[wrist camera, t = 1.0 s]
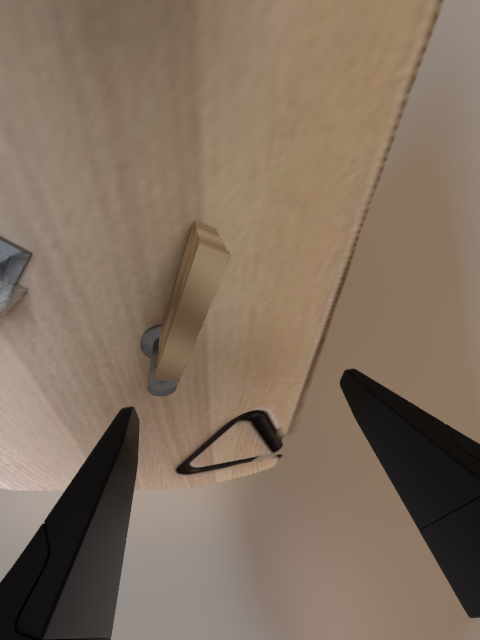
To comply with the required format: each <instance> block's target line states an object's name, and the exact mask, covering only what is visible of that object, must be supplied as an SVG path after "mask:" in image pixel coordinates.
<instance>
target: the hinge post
mask: <svg viewBox="0 0 480 640" xmlns="http://www.w3.org/2000/svg"><path fill="white" fill-rule="evenodd" d="M161 328H162V325H157V326H154V327H152V328H150V329H148V330H147V331H146V332H145V333H144V334H143V336H142V338H141V349H142V351H143V353H144V354H145V355H146V356H148V357H149V358H151V364H150V372H149V380H148V391H149V392H150V393H151V394H152V395H155V396H166V395H169V394H171V393H173V392H174V391H175V390H176V386H177V382H172V381H162V380H154V375H155V371H156V368H157V359H158V348H159V338H160V331H161Z"/></svg>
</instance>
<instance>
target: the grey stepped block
mask: <svg viewBox="0 0 480 640" xmlns="http://www.w3.org/2000/svg"><path fill="white" fill-rule="evenodd" d="M31 254H32V253H31V252H29V251H27V250H25V249H23V248H21V247H19V246H18V245H16V244H14V243H12V242H10V241H8V240H6V239H4V238H2V237H0V318H1V317H2V316H3V315H4V314H5V313H6V312H7V311H8V310H9V309H10V308H11V307H12V306H14V305H15V304H16V303H17V302H18V301H19V300H20V299H21V298H22V297H23V296H24V294H25V293H26V291H27V288H25V287H23V286H21V285H18V284H16V283H17V281H18V279H19V277H20V275H21V273H22V271H23V269H24V268H25V266H26V264H27V262H28V260H29V258H30V256H31Z"/></svg>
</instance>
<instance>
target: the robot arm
mask: <svg viewBox="0 0 480 640" xmlns="http://www.w3.org/2000/svg"><path fill="white" fill-rule="evenodd" d="M340 386H341V389H342V391H343V393H344V395H345V397H346V400H347V402H348V404H349V406H350V408H351V411H352V413H353V415H354V417H355V419H356V421H357V422H358V424H359V426H360V428H361V429H362V431H363V433H364V435H365V437H366V438H367V440H368V442H369V443H370V445H371V447H372V449H373V451H374V452H375V454H376V456H377V457H378V459H379V461H380V463H381V464H382V466H383V468H384V469H385V471H386V473H387V475H388V477H389V478H390V480H391V482H392V484H393V485H394V487H395V489H396V491H397V493H398V494H399V496H400V498H401V500H402V501H403V503H404V505H405V506H406V508H407V510H408V512H409V513H410V515H411V517H412V519H413V520H414V522H415V524H416V526H417V527H418V529H419V531H420V533H421V535H422V536H423V538H424V540H425V542H426V543H427V545H428V547H429V549H430V550H431V552H432V554H433V556H434V557H435V559H436V561H437V563H438V564H439V566H440V568H441V570H442V571H443V573H444V575H445V577H446V578H447V580H448V582H449V584H450V585H451V587H452V589H453V591H454V592H455V594H456V596H457V598H458V599H459V601H460V603H461V605H462V606H463V608H464V610H465V611H466V613H467V614H468V616H469V617H470V618H479V617H480V444H479V443H477V442H475V441H473V440H472V439H470V438H468V437H467V436H465V435H463V434H462V433H460V432H458V431H457V430H455V429H453V428H452V427H450V426H448V425H447V424H444V423H443V422H442V421H440V420H438V419H437V418H435V417H433V416H432V415H430V414H428V413H427V412H425V411H423V410H422V409H420V408H419V407H417V406H415V405H414V404H412V403H410V402H409V401H407V400H405V399H404V398H402V397H400V396H399V395H397V394H396V393H394V392H392V391H391V390H389V389H387V388H386V387H384V386H382V385H381V384H379V383H377V382H376V381H374V380H373V379H371V378H369V377H368V376H366V375H364V374H363V373H361V372H359V371H358V370H356V369H347V370H345V371H344V373H343V376H342V378H341V380H340ZM138 444H139V418H138V415H137V413H136V411H135V408H134V407H132V406H131V407H126V408H122V409H121V410H120V411H119V413H118V414H117V415H116V417H115V418H114V420H113V421H112V423H111V424H110V426H109V427H108V429H107V430H106V432H105V433H104V434H103V436H102V437H101V439H100V440H99V442H98V443H97V445H96V446H95V448H94V449H93V451H92V452H91V453H90V455H89V456H88V458H87V459H86V461H85V462H84V464H83V465H82V467H81V468H80V470H79V471H78V473H77V474H76V475H75V477H74V478H73V480H72V481H71V483H70V484H69V486H68V487H67V489H66V490H65V492H64V493H63V495H62V496H61V497H60V499H59V500H58V502H57V503H56V505H55V506H54V508H53V509H52V511H51V512H50V513H49V515H48V516H47V518H46V520H45V524H42V525H41V526H40V528H39V529H38V531H37V532H36V534H35V535H34V537H33V538H32V540H31V541H30V542H29V544H28V545H27V547H26V548H25V550H24V551H23V552H22V554H21V555H20V557H19V558H18V559H17V561H16V562H15V564H14V565H13V567H12V568H11V569H10V571H9V572H8V573H7V574H6V576H5V577H4V579H3V580H2V581H1V582H0V640H111V639H110V638H111V635H112V629H113V622H114V615H115V609H116V603H117V596H118V589H119V583H120V577H121V570H122V564H123V557H124V550H125V544H126V538H127V531H128V525H129V518H130V512H131V505H132V499H133V493H134V486H135V480H136V473H137V465H138Z"/></svg>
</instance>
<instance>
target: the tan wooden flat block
mask: <svg viewBox="0 0 480 640" xmlns="http://www.w3.org/2000/svg"><path fill="white" fill-rule="evenodd" d="M230 256H231V255H230V253H229V252H228V251H227V250H226V248H225V246H224V244H223V242H222V240H221V238H220V236H219V234H218V233H217V231H216V229H215V228H213V227H211V226H208V225H206V224H203V223H201V222H198V221H196V220H194V223H193V226H192V229H191V233H190V236H189V239H188V242H187V246H186V249H185V252H184V256H183V259H182V262H181V265H180V269H179V272H178V275H177V278H176V282H175V285H174V288H173V292H172V295H171V298H170V301H169V305H168V308H167V311H166V314H165V318H164V321H163V324H162V328H161V331H160V338H159V348H158V359H157V368H156V371H155V375H154V380H162V381H172V382H179V380H180V378H181V375H182V373H183V370H184V368H185V365H186V363H187V361H188V358H189V356H190V353H191V351H192V348H193V346H194V344H195V341H196V339H197V336H198V334H199V331H200V329H201V327H202V324H203V322H204V319H205V317H206V314H207V312H208V309H209V307H210V305H211V302H212V300H213V297H214V295H215V292H216V290H217V288H218V285H219V283H220V280H221V278H222V275H223V273H224V271H225V268H226V266H227V263H228V261H229V258H230Z"/></svg>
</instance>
